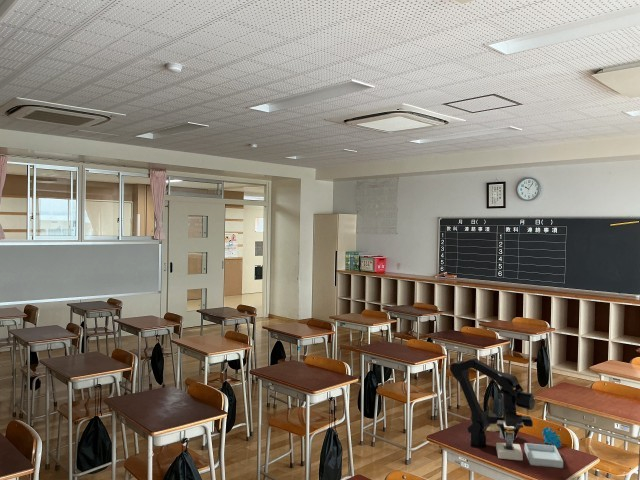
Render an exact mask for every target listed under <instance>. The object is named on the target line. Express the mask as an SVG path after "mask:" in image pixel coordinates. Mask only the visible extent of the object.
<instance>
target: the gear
mask: <svg viewBox="0 0 640 480" xmlns="http://www.w3.org/2000/svg"><path fill="white" fill-rule="evenodd" d="M556 434H557V432H556V430H553V429H552V427H548V426H546V427H544V428H543V429H542V433H541V435H543V436H544V437H543V440H544V441H543V443H544V444H547V445H550V444H551V445H552V446H556V448H557V449H560V448H559V447H562V444H561V443H562V440H561V439H560V437H561V434H558V435H556Z"/></svg>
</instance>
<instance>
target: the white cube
mask: <svg viewBox="0 0 640 480" xmlns="http://www.w3.org/2000/svg"><path fill="white" fill-rule="evenodd" d="M503 424H504V428H505V427H511V428H514V426H506V425H505V422H503ZM499 428H500V427H499ZM504 432H505V431H504ZM517 437H518V435H517V436H516V438H517ZM499 438H500V439H503V440H506V432H505V439H504V437H503V434H502V431H501V428H500V430H499ZM516 438H515V439H516ZM513 441H514V433H513Z"/></svg>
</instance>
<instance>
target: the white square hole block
mask: <svg viewBox="0 0 640 480" xmlns="http://www.w3.org/2000/svg"><path fill="white" fill-rule="evenodd" d="M495 450H496V454H497V457H498V459H503V460H511V461H512V460H514V461H523V456H524V453H523V451H522V448H521V445H520V444H519V443H513V450H506V442H497V441H496V443H495Z"/></svg>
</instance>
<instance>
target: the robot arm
mask: <svg viewBox="0 0 640 480" xmlns="http://www.w3.org/2000/svg"><path fill="white" fill-rule="evenodd" d="M469 369H474V370H475V371H477V372H479V373H481V374H483V375H484V376H487V377H488V378H490V379H491V380H493V381H495V382H496V384H497V385H498V386H499V387H500V389H499V390H498V391H497V393H499V394H502V416H498V415H497V414H496V413H493V414H491V413H489V411H487V410H483V408H482V407H481V405H480V402H479V400H478V398H477V396H476V393H475V391H474V388H473V385H472V383H471V381H470V380H471V379H470V371H469ZM449 370H450V372H451V374H452V376H453V377H454V378H455V380H456V381H458V383H459V385H460V388H461V391H462V393H463V396H464V398H465V400H466V402H467V405H468V407H469V410H470V414H471V415H470V420H471V425H469V426H468V427H467V432H468V433H469V434H470V435H469V436H470V439H469V444H470V447H473V448H474V447H475V448H484V449H485V448H486V446H487V435H486V433H485V431H486V430H487V428H488V427H489V426H490V424H497V426H498V427H499V428H501V431H502V434H503V437H504V439H503V440H506V439H505V432H504V424H503V423H504V422H505V425H506V426H514V429H515V432H514V440H515V441H516V436H517V437H518V432H519V431H520V430H521V429H524V427H529V428H530V427H531V428H532V427H533V425H534V424H533V423H534V422H533V419H532V417H531V416H528V415H522V414H517V407H518V408H522V409H526V410H531V411H533V409H534V407H535V404H536V399H535V397H534V395H533V393H531V392H525V391H524V389H523V388H522V385H520V382H519V380H518V377H517V376H516V375H514V374H511V373H508V372H503V371H499V370H497V369H496V368H494V367H492V366H490V365H489V364H488V363H485V362H482V361H481V360H479V359H478V358H477V357H473V358H469V359H468V360H466V361H463V360H459V361H456V362H453V363H451V365H450V366H449ZM514 440H513V441H514Z"/></svg>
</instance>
